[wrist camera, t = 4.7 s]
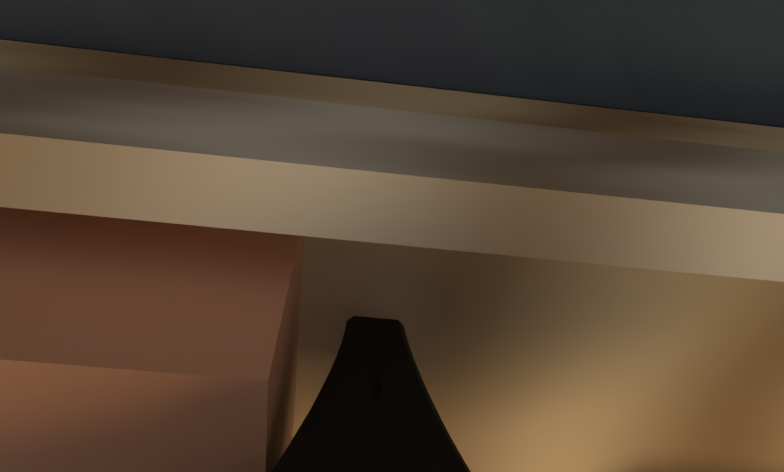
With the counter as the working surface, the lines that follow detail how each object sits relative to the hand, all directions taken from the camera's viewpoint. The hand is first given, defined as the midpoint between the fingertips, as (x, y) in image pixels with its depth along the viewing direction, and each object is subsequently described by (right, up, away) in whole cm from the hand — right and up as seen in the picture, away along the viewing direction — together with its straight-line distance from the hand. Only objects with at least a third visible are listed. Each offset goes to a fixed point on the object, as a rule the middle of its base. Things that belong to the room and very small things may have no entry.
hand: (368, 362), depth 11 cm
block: (-4, +1, 0) cm, 4 cm away
